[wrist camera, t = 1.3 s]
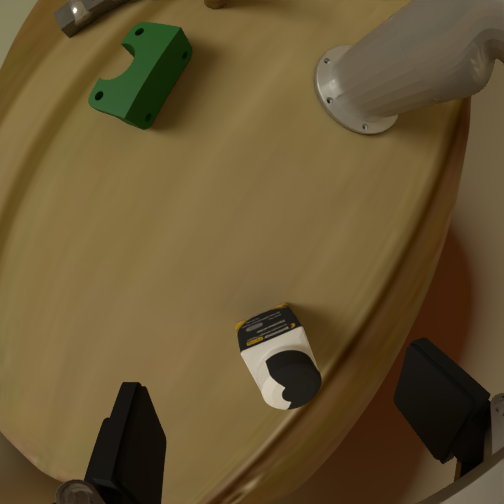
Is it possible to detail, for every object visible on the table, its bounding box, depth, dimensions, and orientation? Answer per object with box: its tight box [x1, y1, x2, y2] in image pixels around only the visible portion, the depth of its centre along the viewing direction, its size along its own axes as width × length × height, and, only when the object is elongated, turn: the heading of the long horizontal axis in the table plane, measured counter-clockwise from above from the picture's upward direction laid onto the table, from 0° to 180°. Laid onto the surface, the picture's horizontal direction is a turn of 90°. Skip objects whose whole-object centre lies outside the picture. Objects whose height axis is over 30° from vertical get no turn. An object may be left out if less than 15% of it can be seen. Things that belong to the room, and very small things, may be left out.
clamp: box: [89, 22, 192, 130], centre depth 25 cm, size 12×6×9 cm, turn 148°
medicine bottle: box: [235, 303, 321, 410], centre depth 31 cm, size 7×7×12 cm
